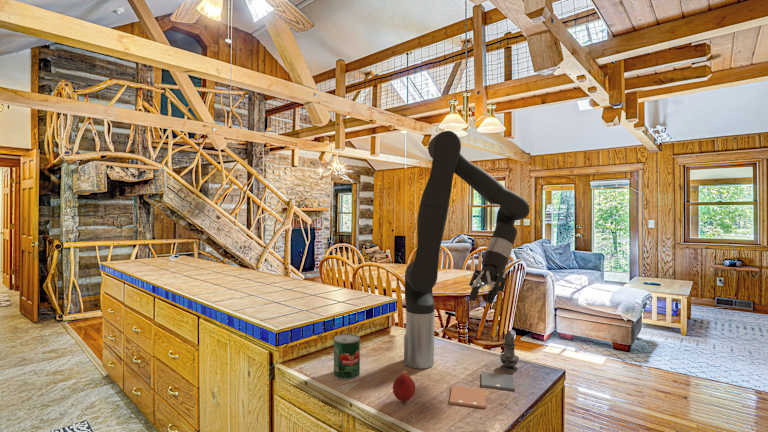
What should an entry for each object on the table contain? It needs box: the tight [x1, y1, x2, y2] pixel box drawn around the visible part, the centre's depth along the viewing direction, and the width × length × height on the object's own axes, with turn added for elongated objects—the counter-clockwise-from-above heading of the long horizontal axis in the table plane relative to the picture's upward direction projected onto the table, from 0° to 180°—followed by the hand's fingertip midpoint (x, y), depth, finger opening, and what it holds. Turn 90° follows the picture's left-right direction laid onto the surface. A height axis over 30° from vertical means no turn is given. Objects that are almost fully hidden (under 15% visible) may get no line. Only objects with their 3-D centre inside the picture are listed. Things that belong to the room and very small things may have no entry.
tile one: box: [480, 371, 516, 392], centre depth 111 cm, size 9×9×1 cm
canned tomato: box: [333, 333, 361, 381], centre depth 115 cm, size 8×8×11 cm
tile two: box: [448, 385, 487, 409], centre depth 102 cm, size 9×9×1 cm
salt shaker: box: [499, 330, 520, 373], centre depth 121 cm, size 6×6×12 cm
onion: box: [392, 370, 416, 403], centre depth 99 cm, size 6×6×8 cm
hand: (479, 301), depth 118 cm, fingers open, 8 cm apart
